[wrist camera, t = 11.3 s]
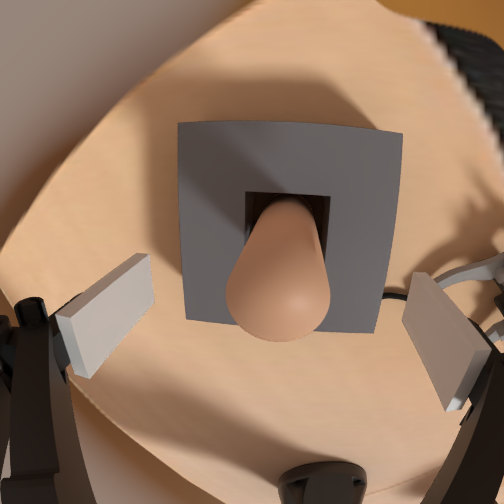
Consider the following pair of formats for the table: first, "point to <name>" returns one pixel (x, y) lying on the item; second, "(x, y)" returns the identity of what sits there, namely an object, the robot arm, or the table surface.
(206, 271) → the socket block
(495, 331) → the bike brake
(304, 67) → the table surface
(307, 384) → the table surface
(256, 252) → the peg
